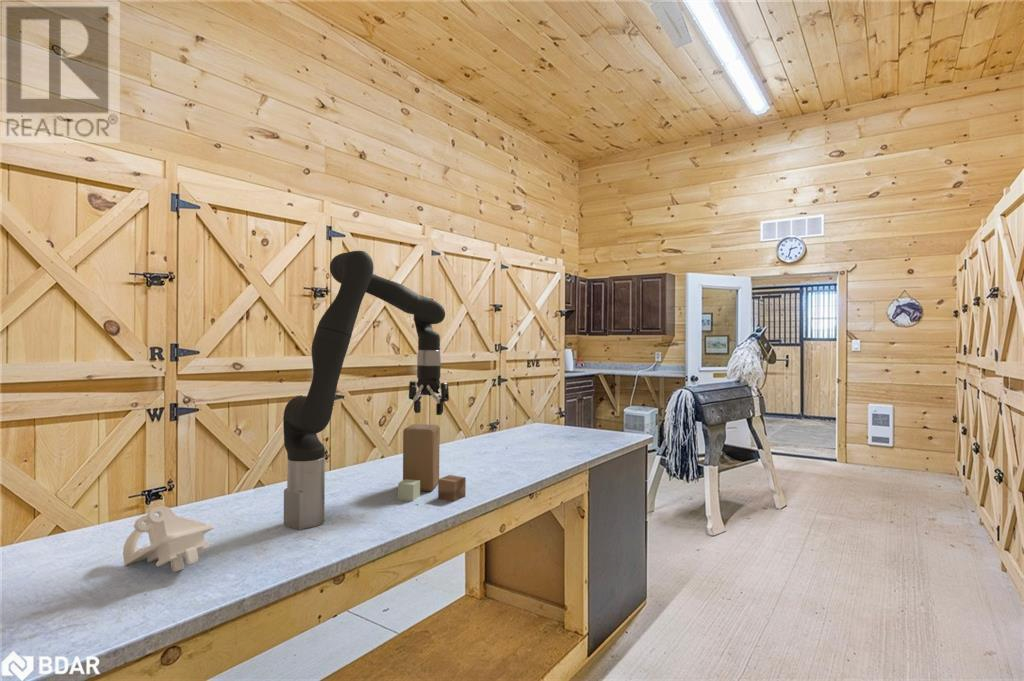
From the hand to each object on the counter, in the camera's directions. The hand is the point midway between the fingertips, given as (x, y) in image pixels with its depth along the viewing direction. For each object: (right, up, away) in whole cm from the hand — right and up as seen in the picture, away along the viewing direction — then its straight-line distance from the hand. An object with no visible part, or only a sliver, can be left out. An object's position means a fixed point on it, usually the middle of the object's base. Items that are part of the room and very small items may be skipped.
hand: (428, 413), depth 174 cm
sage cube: (-4, -24, -10) cm, 27 cm away
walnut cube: (+9, -25, -9) cm, 28 cm away
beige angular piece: (-46, -25, -60) cm, 80 cm away
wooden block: (-2, -25, +1) cm, 25 cm away
